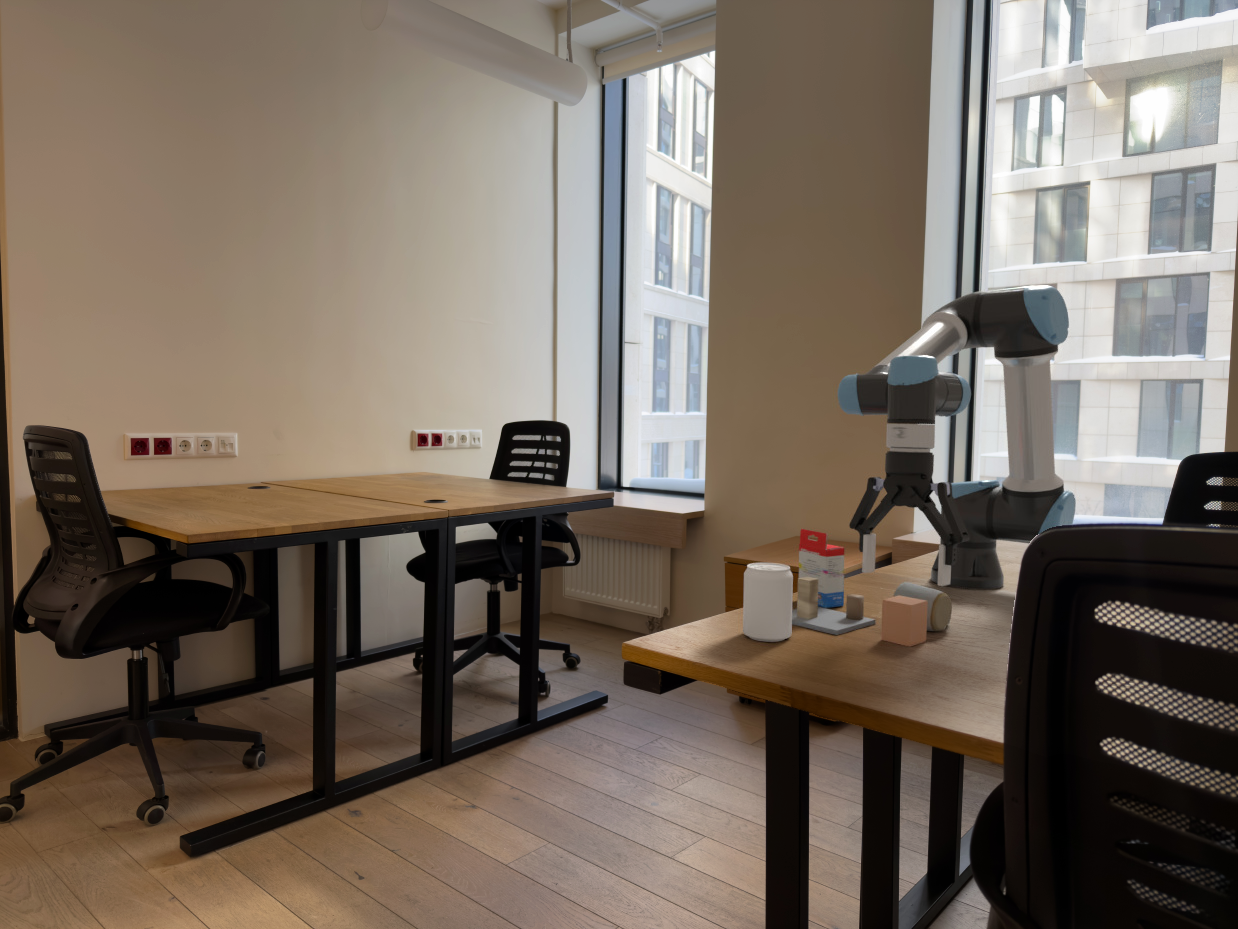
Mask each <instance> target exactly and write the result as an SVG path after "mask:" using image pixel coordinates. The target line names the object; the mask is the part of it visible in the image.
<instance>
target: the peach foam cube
mask: <svg viewBox="0 0 1238 929" xmlns="http://www.w3.org/2000/svg"><path fill="white" fill-rule="evenodd" d="M881 603H882V604H881V605H882V608H881V634H880V636H881V637H880V638H881V639H880V640H881V641H885V642H889V643H894V644H898V645H901V646H904V647H912V646H915V645H919V644H922V643H925V642H927V631H928V630H927V604H928V601H926V600H921V599H915V598H910V597H905V596H900V595H898V596H895V597H893V596H892V597H887V598H883V599H882V602H881Z"/></svg>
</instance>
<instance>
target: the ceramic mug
mask: <svg viewBox="0 0 1238 929" xmlns="http://www.w3.org/2000/svg"><path fill="white" fill-rule="evenodd" d="M898 595H900V596H905V597H910V598H915V599H921V600H926V601H928V604H927V631H928V632H941V631H943V630H944V629H946V627H947V626H948V625H949V624H950V621H951V619H952V611H953V605H952V601H951V598H950V597H949V595H948V594H947V593H945V592H943V591H941V590H939V589H936V588H935V589H934V588H930V587H927V586H923V585H919V584H915V583H913V582H908V581H904V582H901V584H899V585H898V586H897V587H896V589H895V591H894V594H893V596H892V597H895V596H898Z"/></svg>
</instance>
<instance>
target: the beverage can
mask: <svg viewBox="0 0 1238 929" xmlns="http://www.w3.org/2000/svg"><path fill="white" fill-rule="evenodd" d="M746 567H747V568H746V569H745V571H744V572H743V605H742V606H743V610H742V611H743V612H742V614H743V616H742V632H743V635H745V636H747V637H748V638H750V639H751V640H755V641H759V642H767V643H768V642H770V643H774V642H776V643H777V642H781V641H785V639H788V638H790V637H792V632H793V630H792V627H793V624H792V610H793V594H794V592H793V591H794V590H793V587H794V586H793V585H794V584H793V582H794V576H793V572H792V571H791V566H790V565H787V564H784V563H776V562H753V563H748V564H747V565H746Z"/></svg>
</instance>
